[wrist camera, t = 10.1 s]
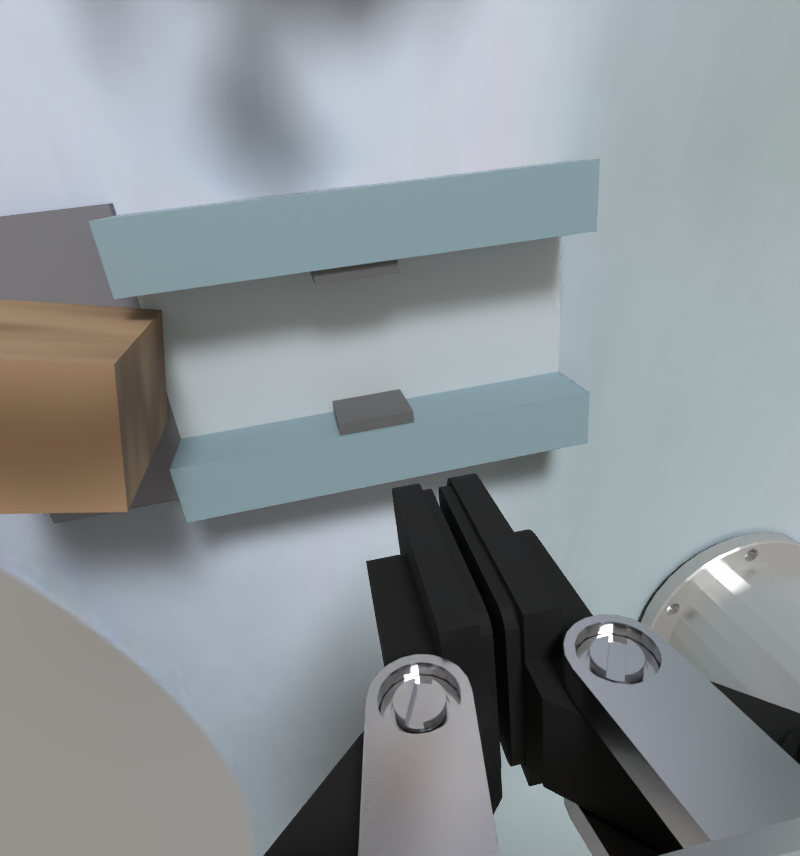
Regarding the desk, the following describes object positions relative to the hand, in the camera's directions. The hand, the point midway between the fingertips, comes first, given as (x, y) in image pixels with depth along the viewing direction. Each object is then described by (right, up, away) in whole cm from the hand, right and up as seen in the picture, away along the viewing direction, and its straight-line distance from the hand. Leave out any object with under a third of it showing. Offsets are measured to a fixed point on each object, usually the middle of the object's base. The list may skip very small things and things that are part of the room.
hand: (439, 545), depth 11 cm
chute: (-2, +7, +12) cm, 14 cm away
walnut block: (-13, +5, +10) cm, 17 cm away
